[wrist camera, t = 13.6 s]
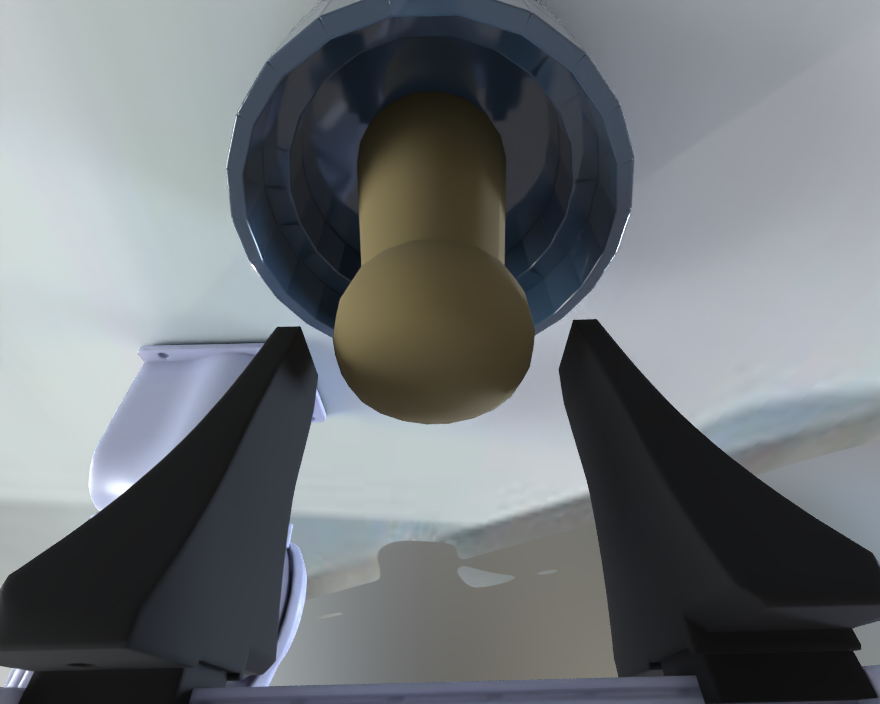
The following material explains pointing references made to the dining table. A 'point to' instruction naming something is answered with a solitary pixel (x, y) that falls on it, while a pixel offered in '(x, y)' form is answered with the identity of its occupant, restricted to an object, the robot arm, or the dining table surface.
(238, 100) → the dining table surface
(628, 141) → the dark blue bowl
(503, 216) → the cork
